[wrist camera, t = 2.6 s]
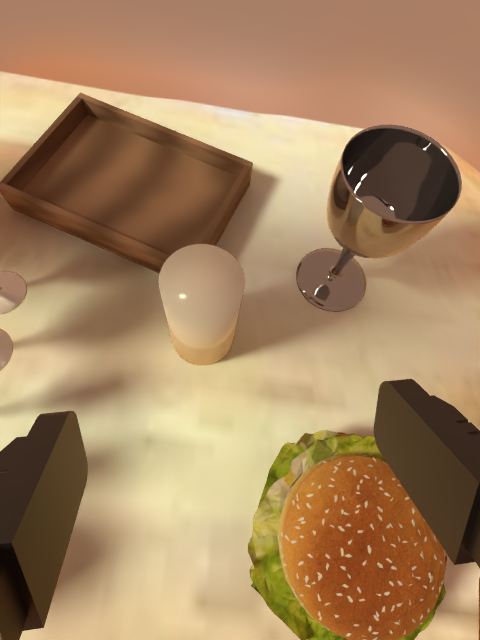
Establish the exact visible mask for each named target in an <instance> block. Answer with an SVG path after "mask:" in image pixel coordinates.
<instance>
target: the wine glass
mask: <svg viewBox="0 0 480 640" xmlns="http://www.w3.org/2000/svg"><path fill="white" fill-rule="evenodd" d="M461 185H462V181H461V176H460V172H459V169H458V167H457V164H456V163H455V161H454V159H453V158H452V156H451V155H450V154H449V153H448V152H447V150H446V149H445V148H444V147H442V146H441V145H440V144H439V143H438V142H437V141H435V140H434V139H432V138H431V137H429V136H427V135H425V134H424V133H422V132H419V131H417V130H414V129H411V128H408V127H404V126H397V125H379V126H373V127H370V128H367V129H364V130H362V131H361V132H359V133H357V134H356V135H355V136H354V137H352V138H351V140H350V141H349V142H348V144H347V145H346V147H345V149H344V151H343V153H342V156H341V158H340V160H339V162H338V165H337V167H336V170H335V173H334V175H333V178H332V182H331V186H330V191H329V196H328V203H327V220H328V225H329V228H330V231H331V233H332V234H333V236H334V238H335V239H336V241H337V242H338V243H339V244H340V245H341V246H342V247H343V250H342V251H340V250H336V249H331V248H322V249H317V250H315V251H312V252H310V253H309V254H307V255H306V256H305V257H304V258H303V259H302V260H301V262H300V263H299V266H298V268H297V277H296V278H297V284H298V286H299V289H300V291H301V292H302V294H303V295H304V297H305V298H306V299H307V300H308V301H309V302H311V303H312V304H313V305H315V306H317V307H319V308H321V309H324V310H327V311H335V312H336V311H344V310H348V309H350V308H352V307H354V306H355V305H356V304H358V302H359V301H360V300H361V299H362V297H363V295H364V293H365V289H366V279H365V275H364V272H363V270H362V268H361V267H360V265H359V264H358V262H357V261H356V260H355V259H354V258H353V257H354V256H355V255H357V256H360V257H364V258H374V259H375V258H385V257H389V256H392V255H394V254H397V253H399V252H401V251H403V250H405V249H406V248H408V247H410V246H411V245H413V244H414V243H416V242H417V241H418V240H420V239H421V238H422V237H424V236H425V235H426V234H428V233H429V232H430V231H431V230H432V229H433V228H434V227H435V226H436V225H437V224H438V223H439V222H440V221H441V220H442V219H443V218H444V217H445V216H446V214H447V213H448V212H449V211H450V210H451V209H452V208H453V207H454V205H455V204H456V202H457V201H458V199H459V197H460V193H461Z"/></svg>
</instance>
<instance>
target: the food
mask: <svg viewBox="0 0 480 640" xmlns="http://www.w3.org/2000/svg"><path fill="white" fill-rule="evenodd" d="M248 552H249V555H250V557H251V560H252V563H253V565H252V567H251V569H250V577H251V579H252V581H253V584H252V585H251V586H252V587H253V588H254V589H255V590H256V591H257V592H258V593H259V594H260V595H261V596H262V597H263V598H264V600H265V602H266V604H267V605H268V607H269V608H270V609H271V610H272V612H273V613H274V614H275V615H277V616H278V617H279V618H280V619H281V620H282V621H283V622H284V623H285V624H286V625H287V626H288V627H289V628H290V629H291V630H292V631H293V632H294V633H295V634H296V635H297V636H298V637H299V638H300V639H301V640H306V639H307V640H414V639H415V638H416V637H417V635H418V633H419V632H421V631H423V630H424V629H425V628H426V627H427V626H428V625H429V624H430V622H431V620H432V619H433V617H434V614H435V611H436V608H437V607H438V606H439V604H440V603H441V601H442V600H443V598H444V595H445V593H446V592H445V588H444V574H445V567H446V561H447V556H446V551H445V550H444V548H443V547H442V545H441V544H440V542H439V541H438V539H437V538H436V536H435V535H434V533H433V532H432V530H431V529H430V527H429V526H428V524H427V523H426V521H425V520H424V518H423V517H422V515H421V514H420V512H419V511H418V509H417V507H416V506H415V504H414V503H413V501H412V500H411V498H410V497H409V495H408V494H407V492H406V491H405V489H404V488H403V486H402V485H401V483H400V482H399V480H398V479H397V477H396V476H395V474H394V473H393V471H392V470H391V468H390V467H389V465H388V464H387V462H386V461H385V459H384V457H383V456H382V454H381V453H380V451H379V450H378V447H377V445H376V442H375V438H374V437H373V436H366V437H361V436H358V435H356V434H350V435H348V434H345V433H336V432H331V431H319V432H316V433H314V434H307V433H305V434H304V435H303V436H302V437H301V438H300V440H299V441H298V442H297V443H296V444H295V443H286V444H285V445H284V446H283V447H282V449H281V450H280V452H279V454H278V456H277V458H276V460H275V461H274V463H273V465H272V466H271V468H270V471H269V474H268V478H267V482H266V484H265V487H264V490H263V493H262V497H261V500H260V503H259V506H258V509H257V511H256V513H255V515H254V519H253V533H252V537H251V539H250V542H249V544H248Z"/></svg>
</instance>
